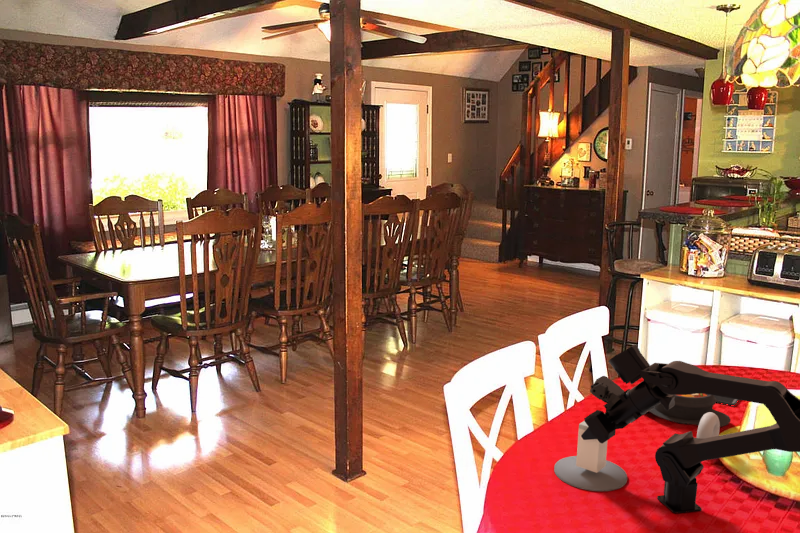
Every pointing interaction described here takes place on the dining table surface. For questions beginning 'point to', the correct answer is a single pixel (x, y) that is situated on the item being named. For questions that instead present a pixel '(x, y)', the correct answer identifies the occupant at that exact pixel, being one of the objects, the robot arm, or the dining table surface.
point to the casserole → (690, 409)
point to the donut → (708, 426)
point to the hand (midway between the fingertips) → (587, 434)
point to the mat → (590, 475)
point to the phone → (726, 400)
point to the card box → (590, 452)
